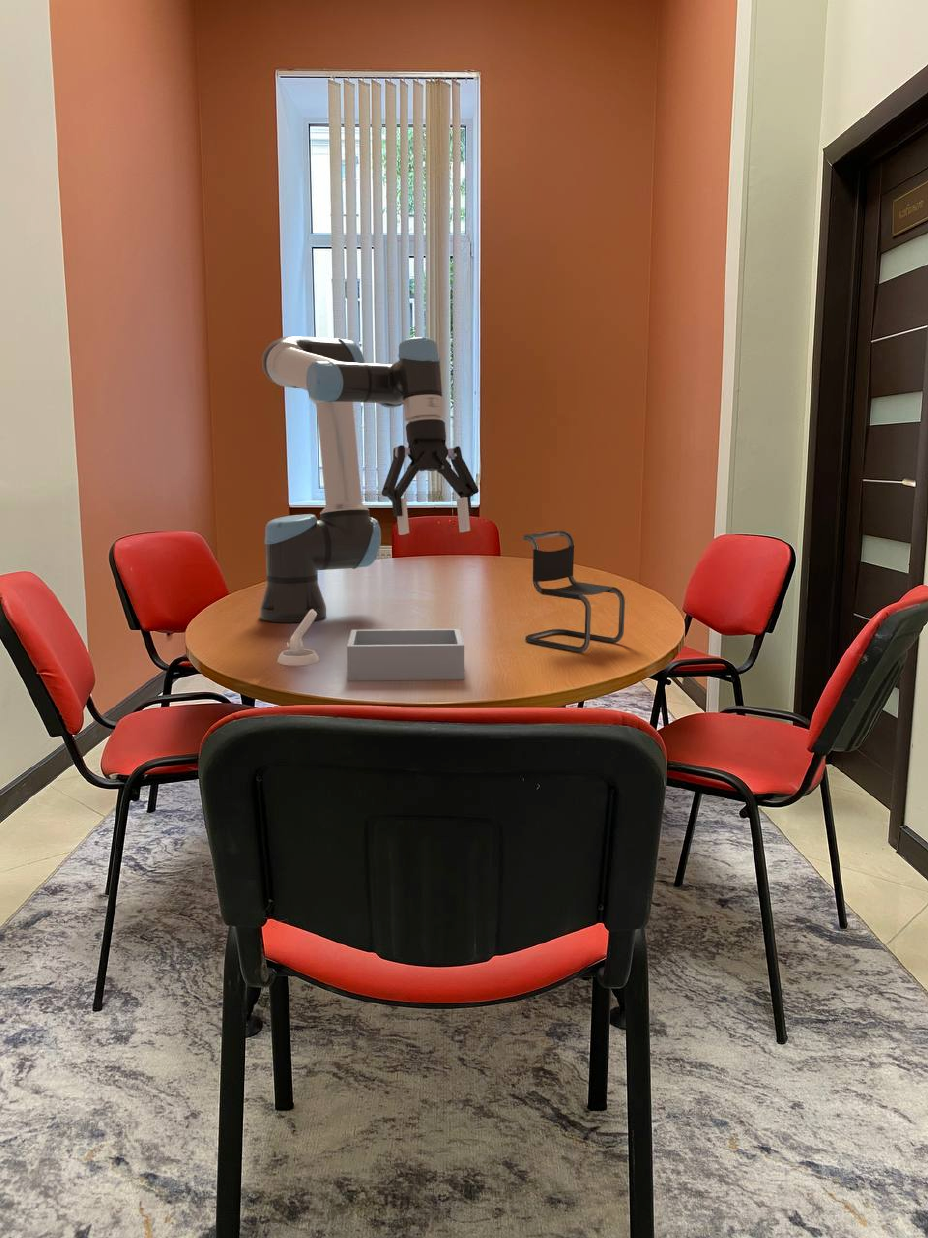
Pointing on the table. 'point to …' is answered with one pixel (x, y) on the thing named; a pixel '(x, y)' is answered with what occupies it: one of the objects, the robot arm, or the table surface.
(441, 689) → the table surface
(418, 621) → the table surface
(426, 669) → the well
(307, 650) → the white ring with handle
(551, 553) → the chair
